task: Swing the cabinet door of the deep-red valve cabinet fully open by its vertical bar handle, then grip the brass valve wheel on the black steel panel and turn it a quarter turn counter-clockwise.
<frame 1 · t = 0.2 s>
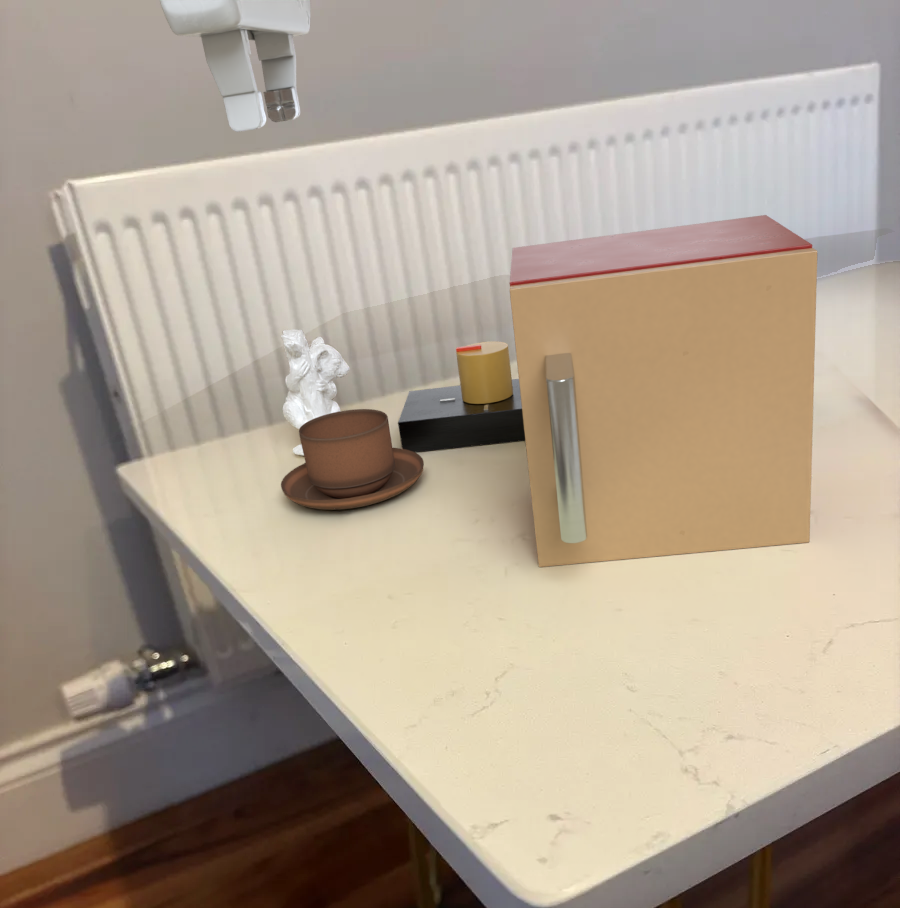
hand: (268, 125, 60), 29 cm above the table, tool pointing down, fingers open, 8 cm apart
valve panel: (470, 429, 98), on the table
white sculpted figure: (323, 454, 98), on the table
valve cabinet: (658, 511, 75), on the table
valve knob: (484, 370, 95), point 5 cm above the table, hinge at 0.0°
cabinet door: (671, 434, 61), point 9 cm above the table, hinge at 0.0°
clip-on lamp: (716, 431, 89), on the table
cup and saucer: (356, 495, 86), on the table
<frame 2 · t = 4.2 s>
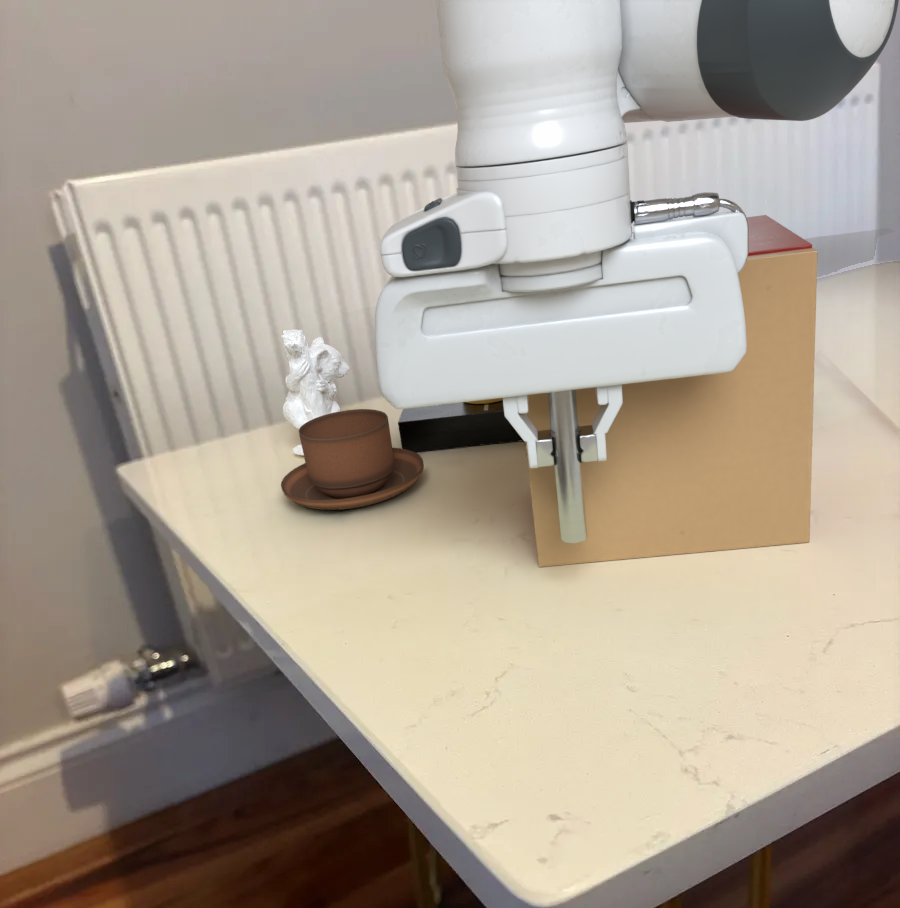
hand: (567, 461, 60), 9 cm above the table, tool pointing down, fingers closed on cabinet door, 2 cm apart
dice set: (559, 380, 109), on the table
cabinet door: (671, 434, 61), point 9 cm above the table, hinge at 0.0°, touching gripper
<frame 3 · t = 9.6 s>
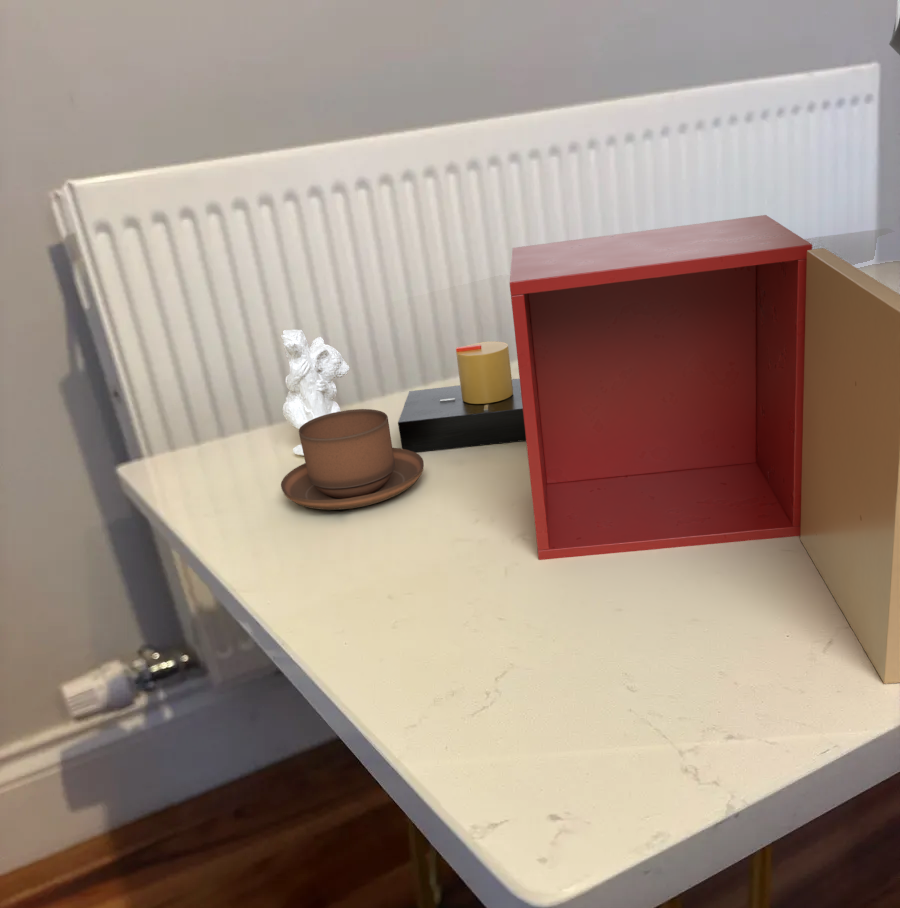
dice set: (559, 380, 109), on the table, touching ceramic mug
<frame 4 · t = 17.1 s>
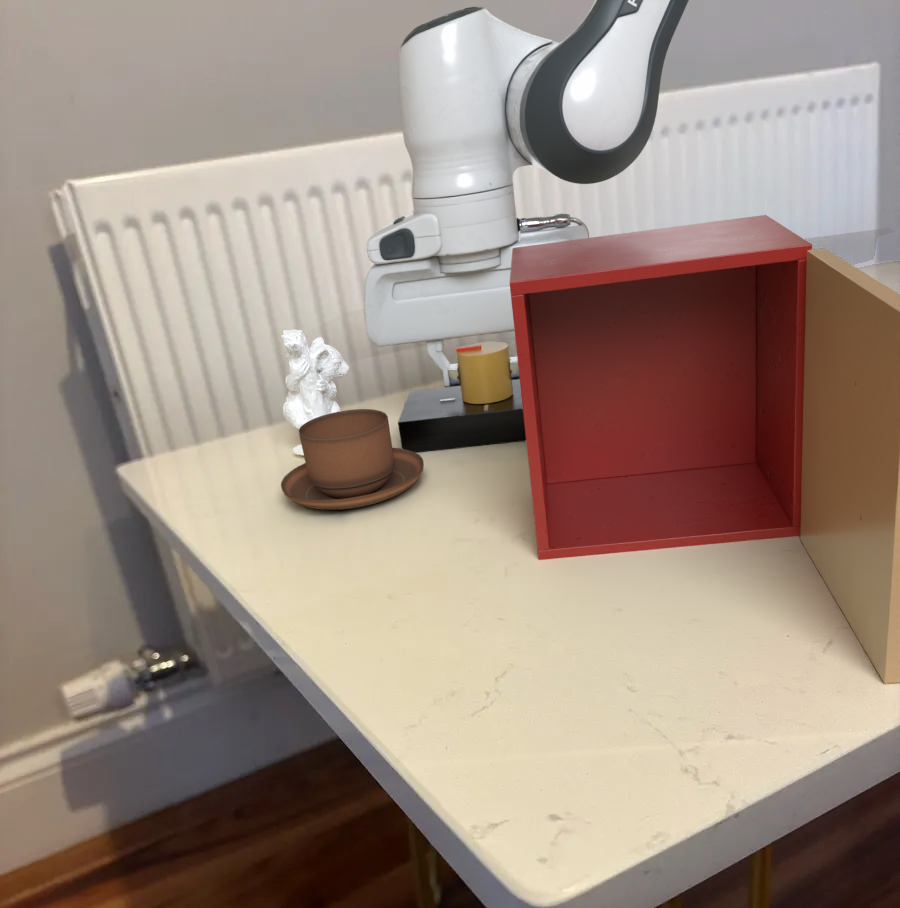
hand: (485, 381, 95), 4 cm above the table, tool pointing down, fingers closed on valve knob, 5 cm apart
valve knob: (484, 370, 95), point 5 cm above the table, hinge at 0.2°, touching gripper
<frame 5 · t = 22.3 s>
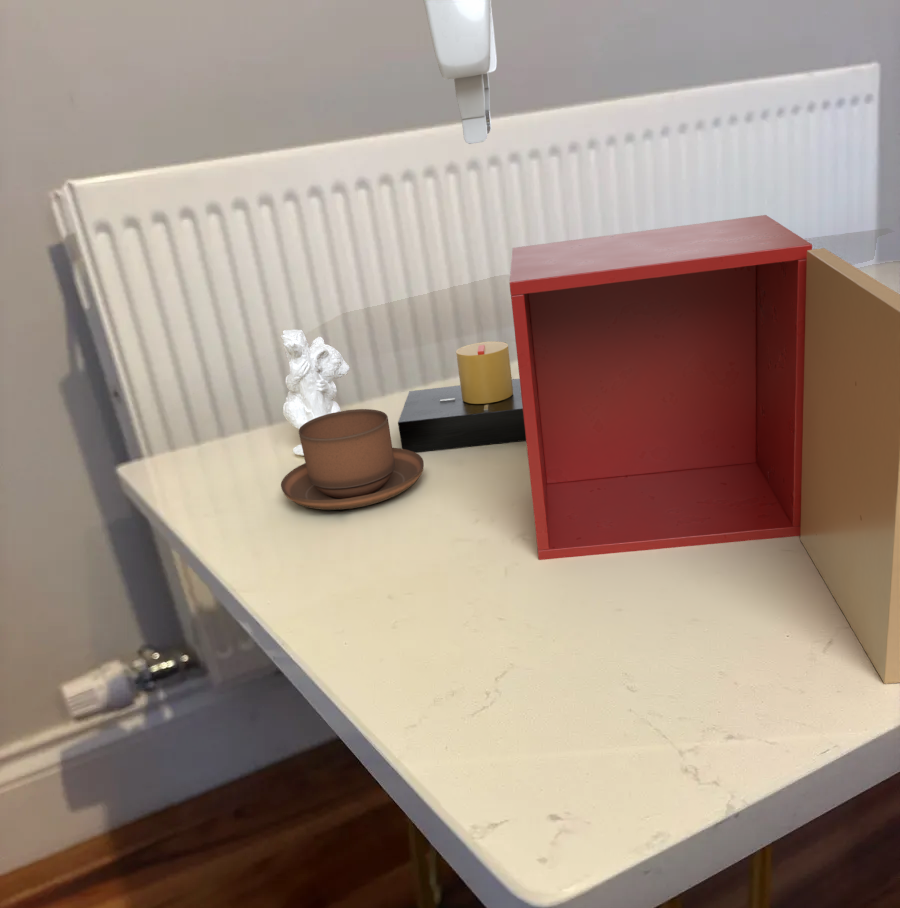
hand: (479, 138, 84), 25 cm above the table, tool pointing down, fingers open, 8 cm apart
valve knob: (484, 370, 95), point 5 cm above the table, hinge at 90.2°
at the end: cabinet door at +90° (first picture: +0°); valve knob at +90° (first picture: +0°) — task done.
